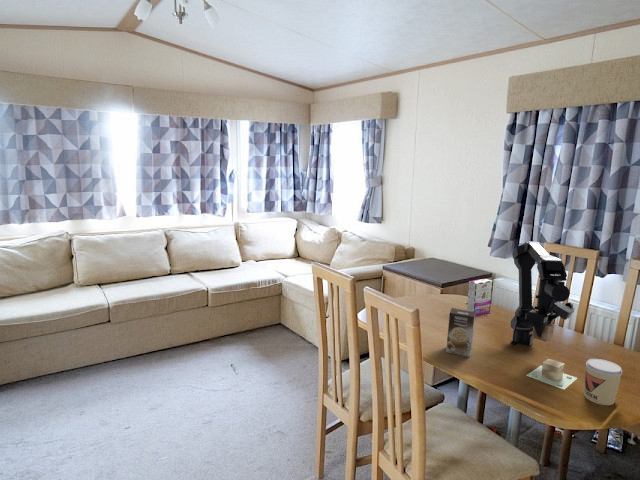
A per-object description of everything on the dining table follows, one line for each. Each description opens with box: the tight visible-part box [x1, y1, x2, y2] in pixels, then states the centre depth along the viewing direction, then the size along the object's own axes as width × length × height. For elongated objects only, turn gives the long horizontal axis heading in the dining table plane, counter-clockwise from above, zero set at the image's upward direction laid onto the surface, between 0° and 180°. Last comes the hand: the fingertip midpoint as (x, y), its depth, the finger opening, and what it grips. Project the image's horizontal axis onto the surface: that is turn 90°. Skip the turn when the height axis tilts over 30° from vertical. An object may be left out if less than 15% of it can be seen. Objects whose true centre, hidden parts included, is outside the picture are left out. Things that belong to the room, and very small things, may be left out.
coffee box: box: [445, 307, 476, 358], centre depth 167 cm, size 9×6×16 cm
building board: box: [525, 365, 578, 390], centre depth 148 cm, size 12×12×1 cm
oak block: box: [541, 358, 565, 382], centre depth 147 cm, size 5×5×5 cm
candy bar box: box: [466, 278, 493, 317], centre depth 211 cm, size 11×5×16 cm, turn 117°
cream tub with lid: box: [583, 358, 623, 406], centre depth 134 cm, size 9×9×12 cm
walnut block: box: [532, 323, 554, 343], centre depth 157 cm, size 5×5×5 cm
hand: (542, 335), depth 157 cm, fingers closed on walnut block, 5 cm apart
